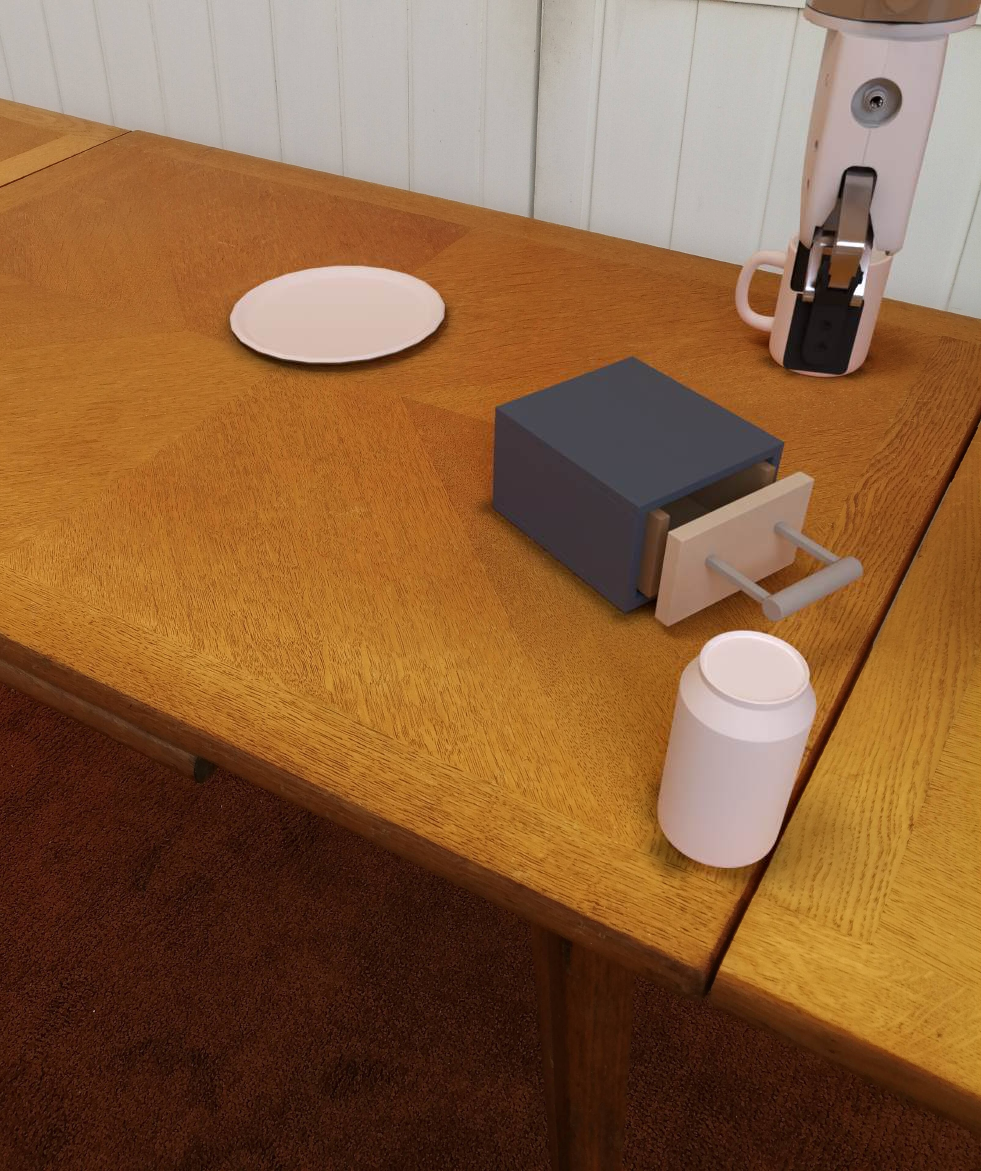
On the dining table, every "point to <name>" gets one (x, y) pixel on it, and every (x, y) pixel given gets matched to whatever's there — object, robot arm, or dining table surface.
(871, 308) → the cup
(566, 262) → the dining table surface
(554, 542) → the cabinet
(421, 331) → the plate
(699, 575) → the drawer
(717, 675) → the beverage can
